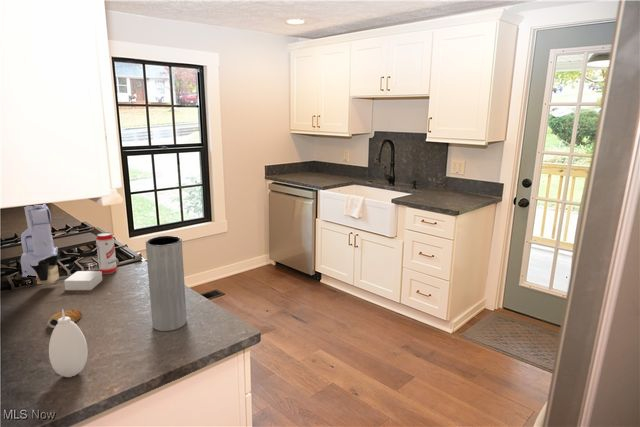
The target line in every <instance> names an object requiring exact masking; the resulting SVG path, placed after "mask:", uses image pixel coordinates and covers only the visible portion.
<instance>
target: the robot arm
mask: <svg viewBox="0 0 640 427" xmlns="http://www.w3.org/2000/svg"><path fill="white" fill-rule="evenodd" d="M23 209H24V213H25V220H26V224H27V229H25V230H24V231H23V232H21V234H20V242H21V248H22V251H23V253H22V254H21V255H20V256H21V257H20V266H21V273H22V275H21V277H22V278H28V277H27V276H28V275H32V276H36V273H37V275H38V277H39V279H40V281H46V280H47V279H48V266H55V265H57V266H58V261H59V258H60V257H61V254H60V253H58V252H59V249H58V246H55V244H54V239H53V235H52V229H51V223H52V214H51V211H50V209H49V207H48V205H46V203H45V204H43V205H34V206H26V207H24V206H23Z"/></svg>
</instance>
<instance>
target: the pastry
mask: <svg viewBox="0 0 640 427" xmlns="http://www.w3.org/2000/svg"><path fill="white" fill-rule="evenodd" d="M64 314H65V317H70V318H71V321H73V322H74V323H75V324H76V323H77V322H78V321H79V320H80V319H81V318H82V316H83V313H82V311H81V310H79V309H77V308H73V309H67V310H64ZM60 318H62V310H61V311H57V313H55V314H52V315H51V316H50V317H49V319H48V321H47V322H46V324H47V326H48V327H49V328H52V329H54V328H55V326H56V325H57V324H58V319H60Z"/></svg>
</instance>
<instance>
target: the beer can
mask: <svg viewBox="0 0 640 427" xmlns="http://www.w3.org/2000/svg"><path fill="white" fill-rule="evenodd" d="M95 243H96V244H95V245H96V253H97V261H98V271H102V275H111V274H113V273H115V272H116V271H117V269H118V267H117V258H116V249H115V247H116V246H115V239H114V236H113V235H112V232H111V231H110V232H109V231H106V232H100V233H97V234H96V238H95Z"/></svg>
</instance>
